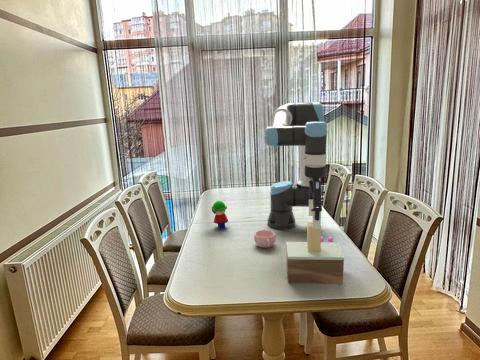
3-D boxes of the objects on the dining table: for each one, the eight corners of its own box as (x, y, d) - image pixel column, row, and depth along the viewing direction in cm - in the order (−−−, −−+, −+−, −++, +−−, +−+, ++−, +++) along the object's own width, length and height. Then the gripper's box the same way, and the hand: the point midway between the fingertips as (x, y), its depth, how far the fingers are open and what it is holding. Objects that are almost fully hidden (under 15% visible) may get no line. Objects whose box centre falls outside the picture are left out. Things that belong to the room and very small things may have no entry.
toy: (228, 230, 177) (227, 203, 174) (212, 231, 177) (210, 203, 174) (228, 224, 186) (227, 198, 183) (212, 225, 186) (211, 199, 183)
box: (286, 265, 138) (286, 244, 136) (336, 266, 136) (337, 244, 134) (287, 282, 125) (287, 259, 123) (342, 283, 123) (343, 259, 121)
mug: (252, 242, 162) (252, 230, 161) (272, 240, 164) (272, 228, 162) (258, 252, 151) (257, 240, 149) (279, 250, 152) (279, 238, 151)
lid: (286, 247, 136) (286, 218, 133) (337, 248, 134) (338, 218, 131) (287, 262, 123) (287, 230, 121) (343, 263, 121) (345, 231, 119)
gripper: (301, 159, 133) (301, 211, 138) (308, 172, 109) (307, 234, 114) (321, 159, 132) (320, 211, 137) (331, 172, 108) (329, 234, 113)
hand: (314, 221), depth 125 cm, fingers open, 13 cm apart
